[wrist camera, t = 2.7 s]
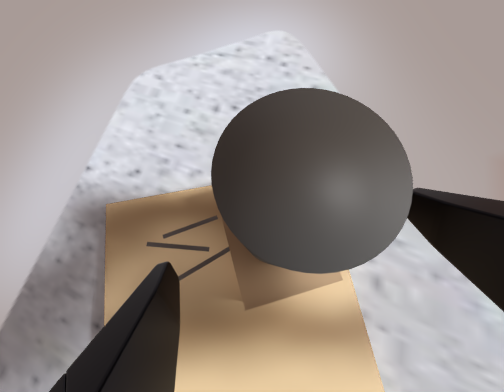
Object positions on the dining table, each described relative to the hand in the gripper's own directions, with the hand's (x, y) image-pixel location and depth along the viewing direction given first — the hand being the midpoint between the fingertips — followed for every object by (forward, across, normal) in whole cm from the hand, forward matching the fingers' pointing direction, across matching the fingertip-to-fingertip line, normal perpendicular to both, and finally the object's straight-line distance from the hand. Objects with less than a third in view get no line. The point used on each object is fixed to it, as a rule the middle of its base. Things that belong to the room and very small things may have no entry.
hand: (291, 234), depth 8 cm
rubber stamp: (+6, 0, +5) cm, 7 cm away
